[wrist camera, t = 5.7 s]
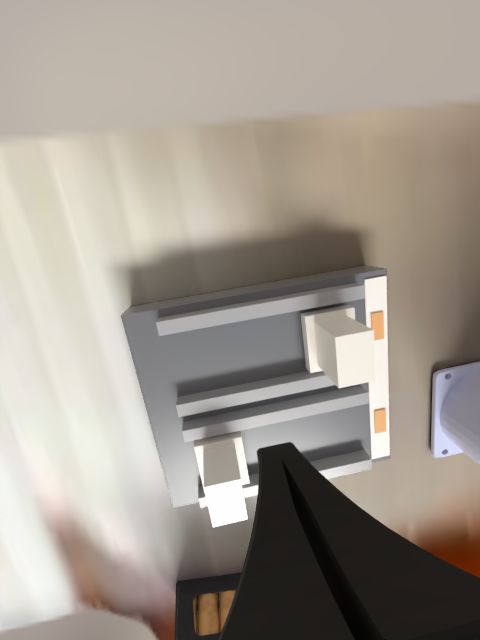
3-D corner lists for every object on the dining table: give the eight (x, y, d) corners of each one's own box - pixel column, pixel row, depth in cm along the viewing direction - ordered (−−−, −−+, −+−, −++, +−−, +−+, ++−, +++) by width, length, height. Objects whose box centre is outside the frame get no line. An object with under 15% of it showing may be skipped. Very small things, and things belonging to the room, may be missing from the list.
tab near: (348, 304, 18) (383, 320, 15) (351, 358, 19) (384, 385, 16) (300, 313, 18) (324, 331, 15) (306, 367, 19) (329, 397, 16)
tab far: (240, 429, 20) (248, 471, 16) (247, 474, 21) (257, 522, 17) (194, 438, 20) (192, 483, 16) (204, 483, 20) (205, 535, 17)
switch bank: (365, 265, 21) (397, 270, 18) (372, 437, 25) (398, 468, 21) (130, 306, 20) (116, 320, 16) (176, 480, 23) (171, 521, 20)
